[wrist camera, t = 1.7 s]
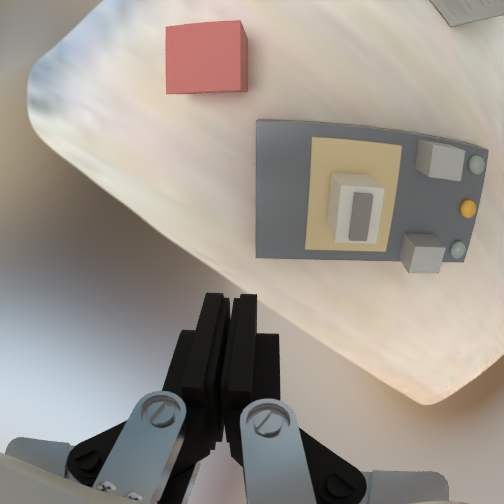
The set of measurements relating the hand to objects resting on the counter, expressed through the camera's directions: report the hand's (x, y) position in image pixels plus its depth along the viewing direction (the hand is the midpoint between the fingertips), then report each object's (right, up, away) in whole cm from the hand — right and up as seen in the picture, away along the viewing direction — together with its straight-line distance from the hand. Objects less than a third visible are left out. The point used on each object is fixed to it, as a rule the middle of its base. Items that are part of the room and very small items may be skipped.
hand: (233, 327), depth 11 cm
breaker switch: (+8, +7, +12) cm, 16 cm away
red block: (-2, +17, +10) cm, 20 cm away
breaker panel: (+11, +8, +14) cm, 20 cm away
